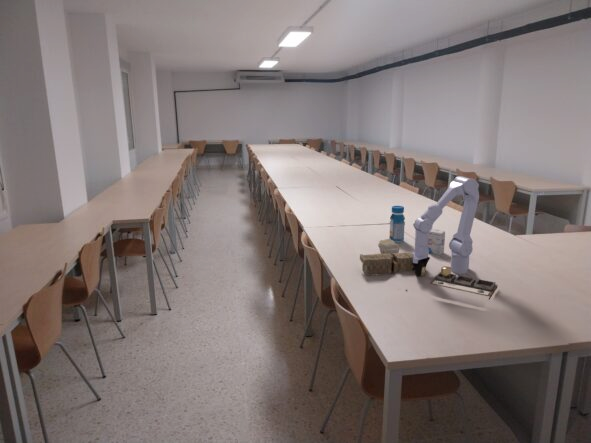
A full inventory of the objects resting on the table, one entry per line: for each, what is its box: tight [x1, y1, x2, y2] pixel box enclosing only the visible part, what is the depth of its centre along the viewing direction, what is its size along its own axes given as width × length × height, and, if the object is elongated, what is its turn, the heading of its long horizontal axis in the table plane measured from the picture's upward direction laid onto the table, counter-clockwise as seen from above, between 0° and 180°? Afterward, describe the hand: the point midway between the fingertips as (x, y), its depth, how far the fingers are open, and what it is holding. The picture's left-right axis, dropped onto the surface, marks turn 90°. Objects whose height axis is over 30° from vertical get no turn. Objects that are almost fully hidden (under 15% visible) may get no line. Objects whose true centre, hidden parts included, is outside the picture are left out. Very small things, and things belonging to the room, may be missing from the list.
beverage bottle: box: [388, 205, 406, 243], centre depth 242 cm, size 8×8×20 cm
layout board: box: [429, 271, 498, 300], centre depth 178 cm, size 14×24×3 cm, turn 54°
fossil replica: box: [377, 238, 400, 256], centre depth 220 cm, size 12×8×10 cm
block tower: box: [359, 251, 414, 276], centre depth 198 cm, size 8×8×29 cm
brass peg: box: [420, 266, 426, 277], centre depth 190 cm, size 4×4×5 cm
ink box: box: [428, 228, 446, 256], centre depth 222 cm, size 9×5×12 cm, turn 47°
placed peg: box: [440, 265, 452, 279], centre depth 184 cm, size 4×4×5 cm
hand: (419, 273), depth 190 cm, fingers closed on brass peg, 4 cm apart
